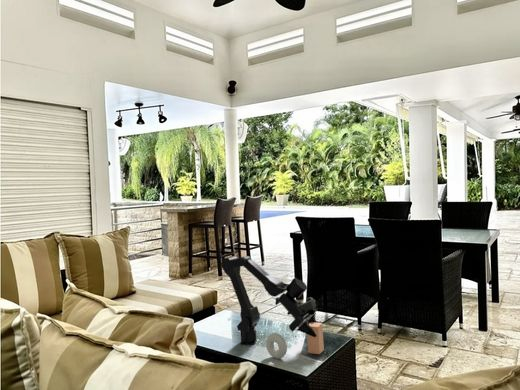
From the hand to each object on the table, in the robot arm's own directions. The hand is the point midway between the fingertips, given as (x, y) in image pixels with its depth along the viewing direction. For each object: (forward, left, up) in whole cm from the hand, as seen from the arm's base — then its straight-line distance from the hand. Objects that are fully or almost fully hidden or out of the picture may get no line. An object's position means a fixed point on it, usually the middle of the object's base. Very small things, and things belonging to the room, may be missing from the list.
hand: (318, 334), depth 165 cm
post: (-1, +1, -7) cm, 7 cm away
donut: (-17, -6, -7) cm, 19 cm away
